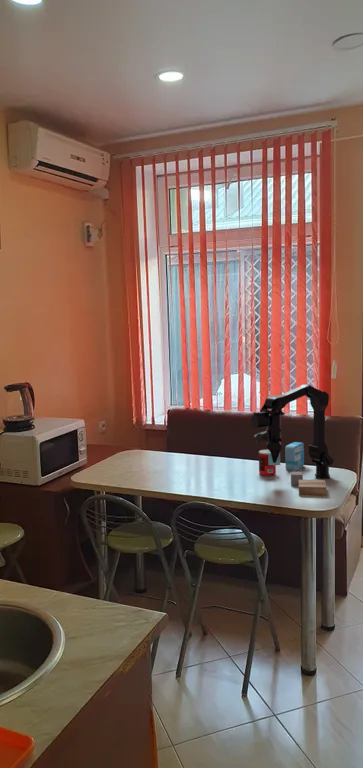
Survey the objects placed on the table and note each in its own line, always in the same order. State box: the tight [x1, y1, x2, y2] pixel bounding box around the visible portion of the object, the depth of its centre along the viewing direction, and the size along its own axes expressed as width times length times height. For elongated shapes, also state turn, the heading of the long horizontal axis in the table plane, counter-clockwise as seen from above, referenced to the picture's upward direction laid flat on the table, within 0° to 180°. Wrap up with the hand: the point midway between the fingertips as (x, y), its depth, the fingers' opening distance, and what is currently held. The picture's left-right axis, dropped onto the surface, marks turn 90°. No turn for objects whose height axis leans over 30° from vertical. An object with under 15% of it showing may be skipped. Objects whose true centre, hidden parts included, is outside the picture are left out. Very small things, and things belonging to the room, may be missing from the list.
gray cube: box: [290, 471, 304, 487], centre depth 255 cm, size 5×5×5 cm
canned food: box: [258, 449, 277, 477], centre depth 273 cm, size 8×8×11 cm
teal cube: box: [268, 451, 281, 466], centre depth 253 cm, size 5×5×5 cm
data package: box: [284, 441, 305, 472], centre depth 282 cm, size 12×4×12 cm, turn 145°
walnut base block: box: [298, 479, 327, 497], centre depth 244 cm, size 11×11×4 cm
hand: (274, 461), depth 253 cm, fingers closed on teal cube, 5 cm apart
